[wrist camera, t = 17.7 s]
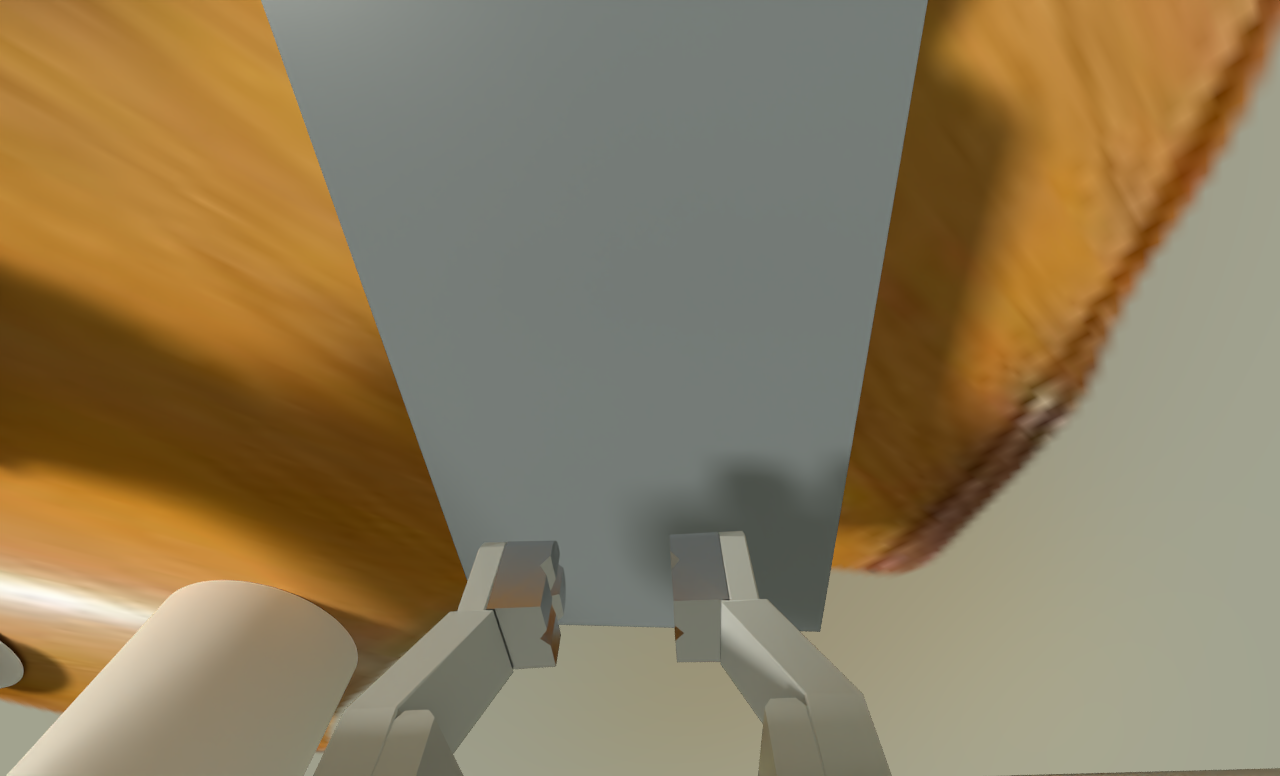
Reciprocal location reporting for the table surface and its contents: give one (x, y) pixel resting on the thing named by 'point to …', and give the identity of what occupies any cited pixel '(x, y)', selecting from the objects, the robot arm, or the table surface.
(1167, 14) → the table surface
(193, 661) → the canister
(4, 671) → the teacup
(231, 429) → the table surface
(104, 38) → the table surface
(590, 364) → the lid
